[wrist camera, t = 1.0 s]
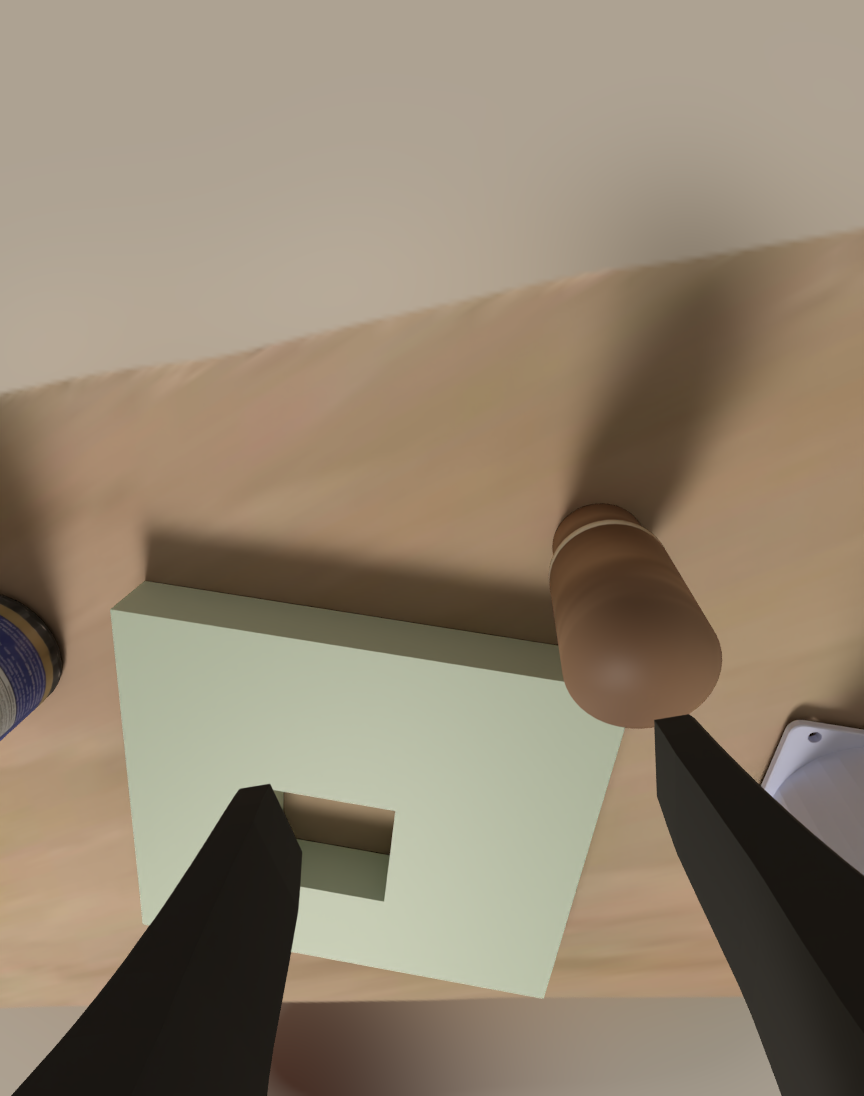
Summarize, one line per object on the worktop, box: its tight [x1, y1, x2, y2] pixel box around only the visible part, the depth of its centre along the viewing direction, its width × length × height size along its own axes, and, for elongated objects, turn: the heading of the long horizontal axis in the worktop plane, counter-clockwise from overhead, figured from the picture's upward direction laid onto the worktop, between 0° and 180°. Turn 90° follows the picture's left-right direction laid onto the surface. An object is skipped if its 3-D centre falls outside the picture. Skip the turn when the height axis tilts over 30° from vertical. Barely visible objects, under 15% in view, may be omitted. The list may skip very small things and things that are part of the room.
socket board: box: [110, 581, 625, 999], centre depth 28 cm, size 20×18×2 cm
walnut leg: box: [549, 504, 722, 728], centre depth 20 cm, size 4×4×8 cm
